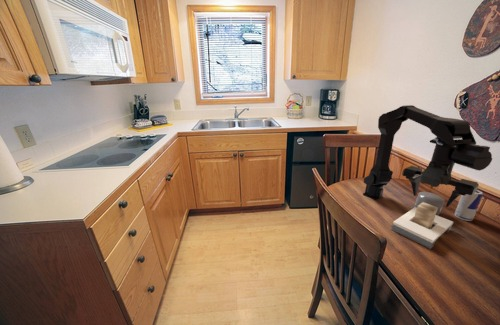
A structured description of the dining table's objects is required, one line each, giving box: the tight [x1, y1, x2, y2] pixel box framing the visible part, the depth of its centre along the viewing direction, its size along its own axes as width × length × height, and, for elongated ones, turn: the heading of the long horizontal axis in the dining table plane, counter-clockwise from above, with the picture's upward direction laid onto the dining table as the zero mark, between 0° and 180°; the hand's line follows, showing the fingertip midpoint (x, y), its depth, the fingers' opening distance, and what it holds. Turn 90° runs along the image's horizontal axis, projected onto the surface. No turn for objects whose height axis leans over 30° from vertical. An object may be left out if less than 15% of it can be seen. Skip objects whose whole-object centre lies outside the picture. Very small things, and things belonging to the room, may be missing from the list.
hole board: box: [390, 207, 454, 250], centre depth 77 cm, size 12×18×4 cm, turn 122°
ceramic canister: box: [413, 191, 445, 216], centre depth 87 cm, size 8×8×7 cm
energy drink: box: [454, 189, 484, 222], centre depth 82 cm, size 5×5×12 cm
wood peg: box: [412, 202, 438, 230], centre depth 76 cm, size 4×4×10 cm
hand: (430, 200), depth 73 cm, fingers open, 9 cm apart
